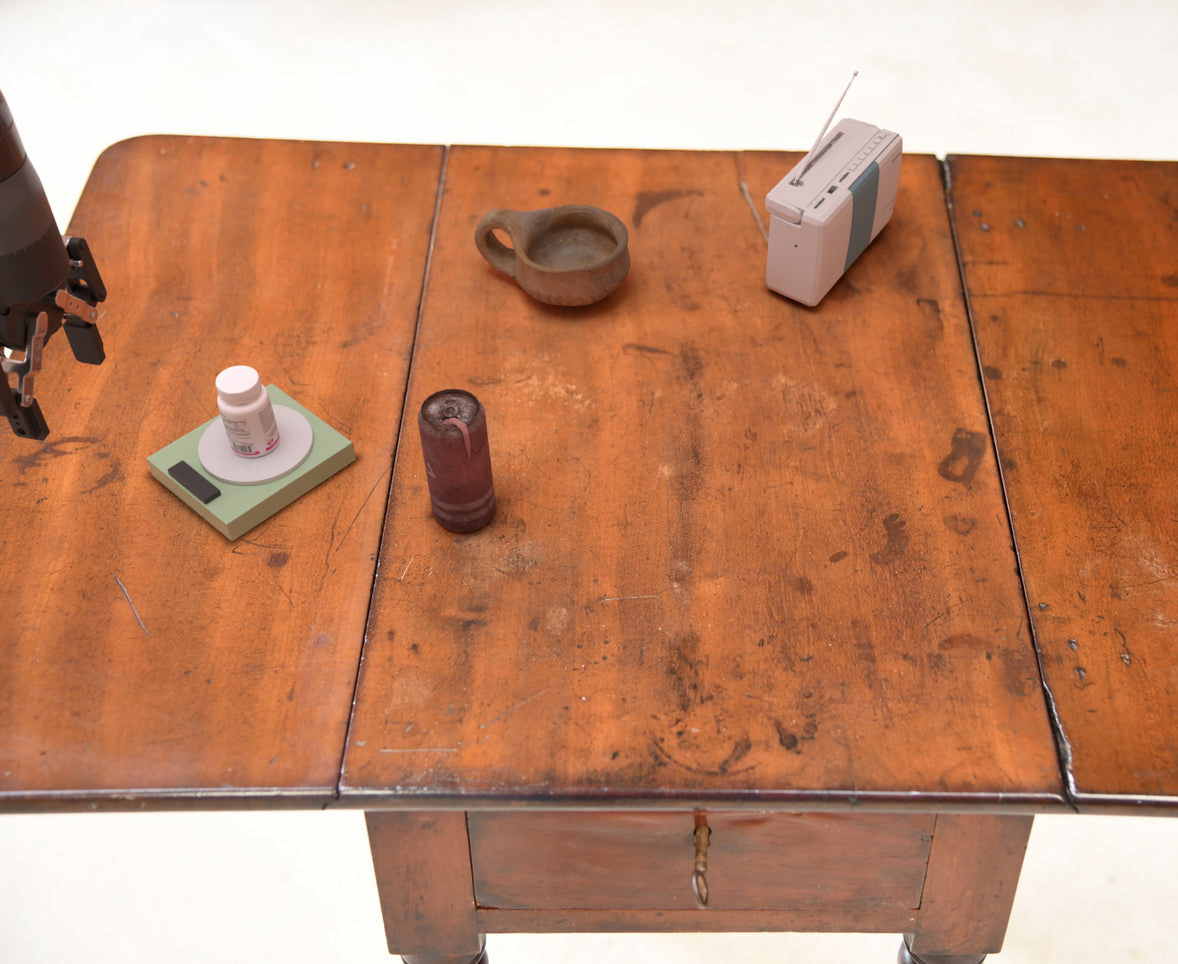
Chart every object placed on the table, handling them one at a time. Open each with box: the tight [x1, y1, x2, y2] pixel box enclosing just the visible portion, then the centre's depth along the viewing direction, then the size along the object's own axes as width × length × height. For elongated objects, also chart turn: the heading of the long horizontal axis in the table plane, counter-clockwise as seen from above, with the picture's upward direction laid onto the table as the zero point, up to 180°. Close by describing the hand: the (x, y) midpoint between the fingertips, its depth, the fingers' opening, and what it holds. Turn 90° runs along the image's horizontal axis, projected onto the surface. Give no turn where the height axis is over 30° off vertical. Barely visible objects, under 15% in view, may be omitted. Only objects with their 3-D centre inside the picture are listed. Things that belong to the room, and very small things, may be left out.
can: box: [417, 388, 497, 534], centre depth 132 cm, size 6×6×14 cm
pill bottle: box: [215, 365, 279, 458], centre depth 135 cm, size 5×5×8 cm
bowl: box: [474, 203, 631, 307], centre depth 158 cm, size 18×14×10 cm
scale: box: [145, 382, 357, 542], centre depth 139 cm, size 15×13×3 cm
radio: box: [764, 70, 904, 307], centre depth 160 cm, size 21×8×20 cm, turn 150°
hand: (64, 397), depth 106 cm, fingers open, 8 cm apart
